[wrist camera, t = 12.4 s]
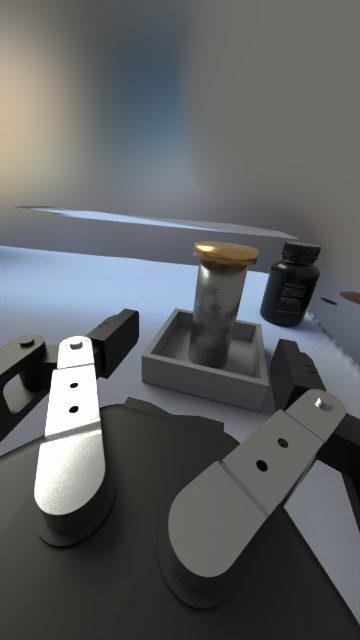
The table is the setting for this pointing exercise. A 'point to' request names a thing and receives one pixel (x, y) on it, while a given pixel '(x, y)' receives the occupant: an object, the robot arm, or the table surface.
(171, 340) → the tray
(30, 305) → the table surface
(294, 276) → the supplement bottle
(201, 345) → the pin
